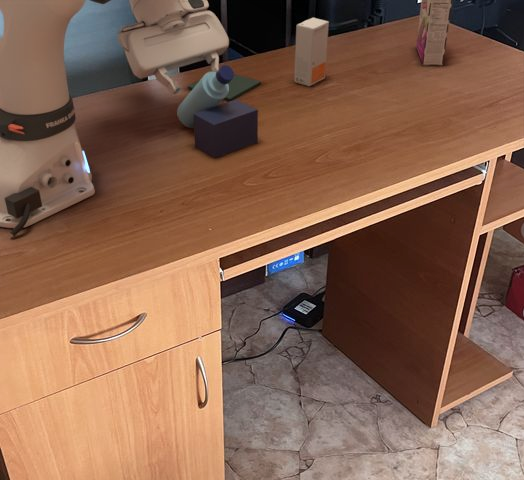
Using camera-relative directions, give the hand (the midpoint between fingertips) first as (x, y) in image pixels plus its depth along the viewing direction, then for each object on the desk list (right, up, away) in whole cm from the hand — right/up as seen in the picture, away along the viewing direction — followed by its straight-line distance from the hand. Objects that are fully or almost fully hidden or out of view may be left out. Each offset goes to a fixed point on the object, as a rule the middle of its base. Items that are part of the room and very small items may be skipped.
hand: (197, 85), depth 144 cm
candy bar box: (+50, +18, +35) cm, 63 cm away
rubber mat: (+4, +7, +21) cm, 23 cm away
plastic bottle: (+2, -8, +4) cm, 9 cm away
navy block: (+5, -11, +1) cm, 12 cm away
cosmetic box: (+22, +9, +24) cm, 34 cm away
